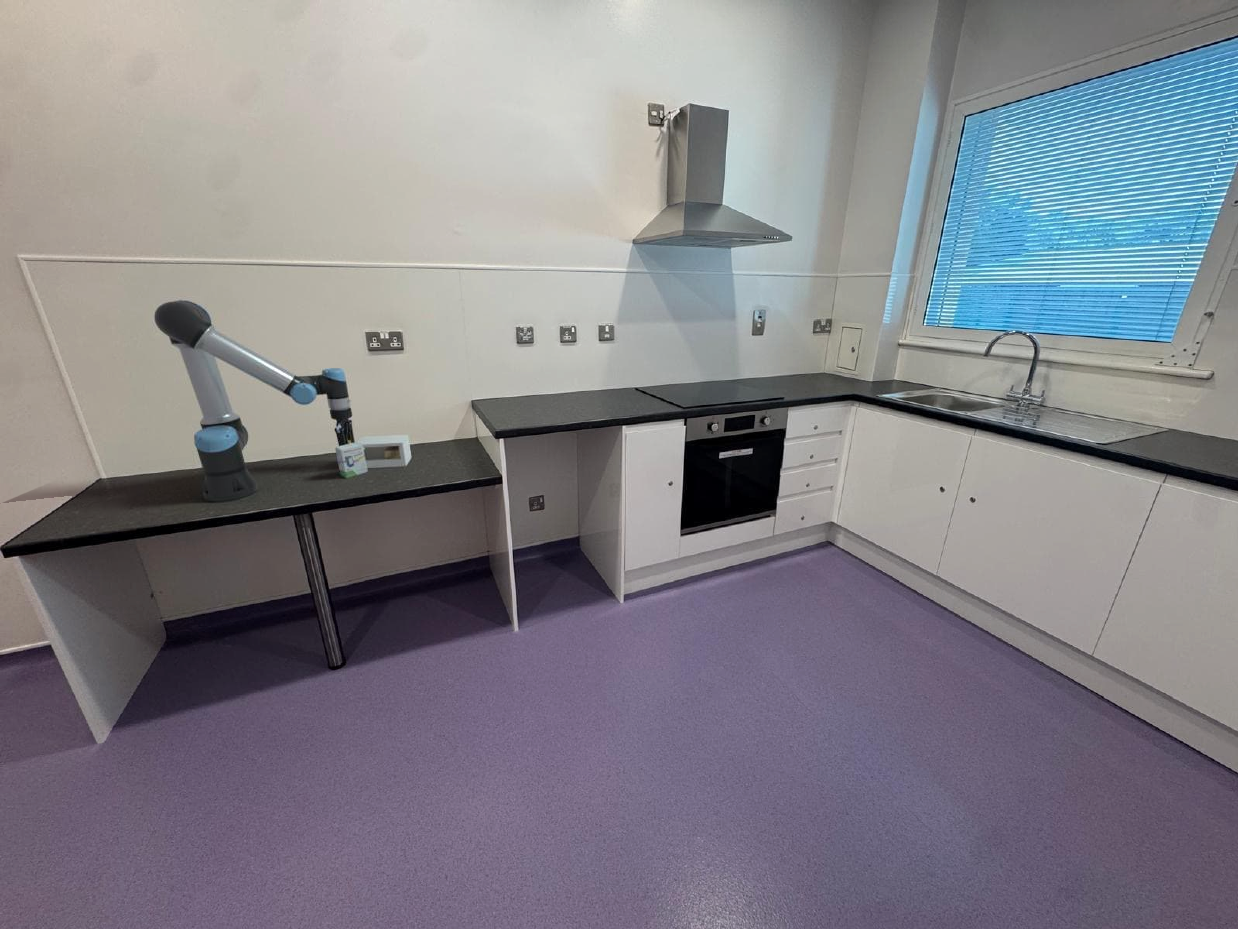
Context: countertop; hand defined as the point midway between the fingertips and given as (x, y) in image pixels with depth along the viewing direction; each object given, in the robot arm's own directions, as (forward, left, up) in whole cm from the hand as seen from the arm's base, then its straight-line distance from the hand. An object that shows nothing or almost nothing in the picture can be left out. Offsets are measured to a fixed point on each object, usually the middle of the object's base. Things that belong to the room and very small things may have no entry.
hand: (350, 463), depth 203 cm
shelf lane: (+13, 0, -1) cm, 13 cm away
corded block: (+9, 0, 0) cm, 9 cm away
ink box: (+5, -11, -1) cm, 12 cm away
